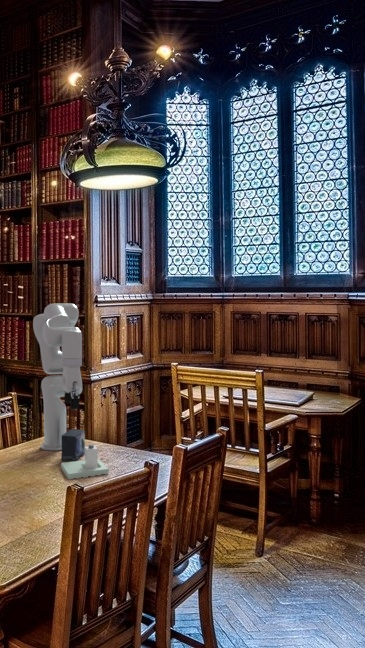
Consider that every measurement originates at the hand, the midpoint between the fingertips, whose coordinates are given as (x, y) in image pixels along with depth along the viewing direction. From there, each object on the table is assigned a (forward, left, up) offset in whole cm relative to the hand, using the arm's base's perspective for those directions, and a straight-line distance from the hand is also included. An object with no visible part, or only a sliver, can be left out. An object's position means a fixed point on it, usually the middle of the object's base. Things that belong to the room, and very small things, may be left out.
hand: (71, 405), depth 214 cm
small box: (-14, +3, -25) cm, 28 cm away
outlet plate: (+5, +3, -24) cm, 25 cm away
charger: (+6, +6, -24) cm, 26 cm away
